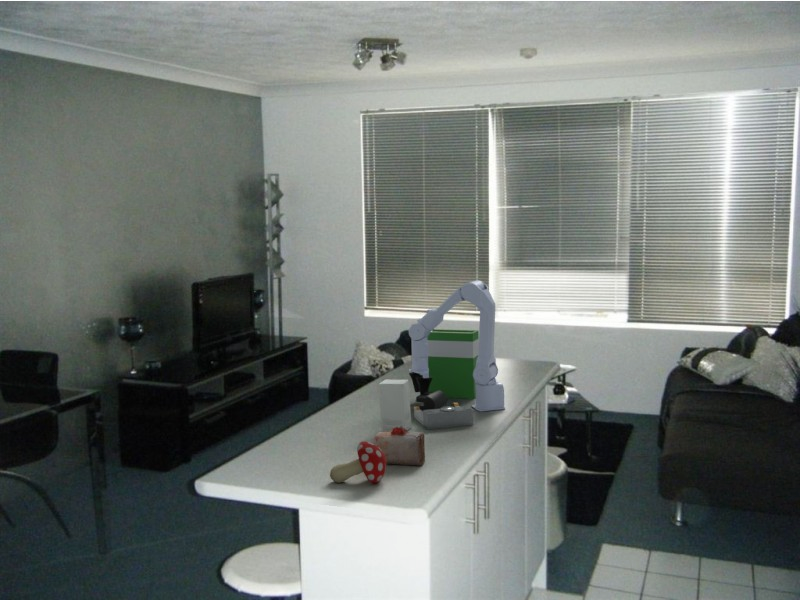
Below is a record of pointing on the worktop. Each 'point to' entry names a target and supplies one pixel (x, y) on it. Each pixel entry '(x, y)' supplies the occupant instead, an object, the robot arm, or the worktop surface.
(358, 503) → the worktop surface
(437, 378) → the green box
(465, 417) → the motor housing with clip cradle
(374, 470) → the decorative mushroom
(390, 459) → the food item
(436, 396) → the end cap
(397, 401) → the skincare box
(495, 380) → the robot arm
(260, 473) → the worktop surface
